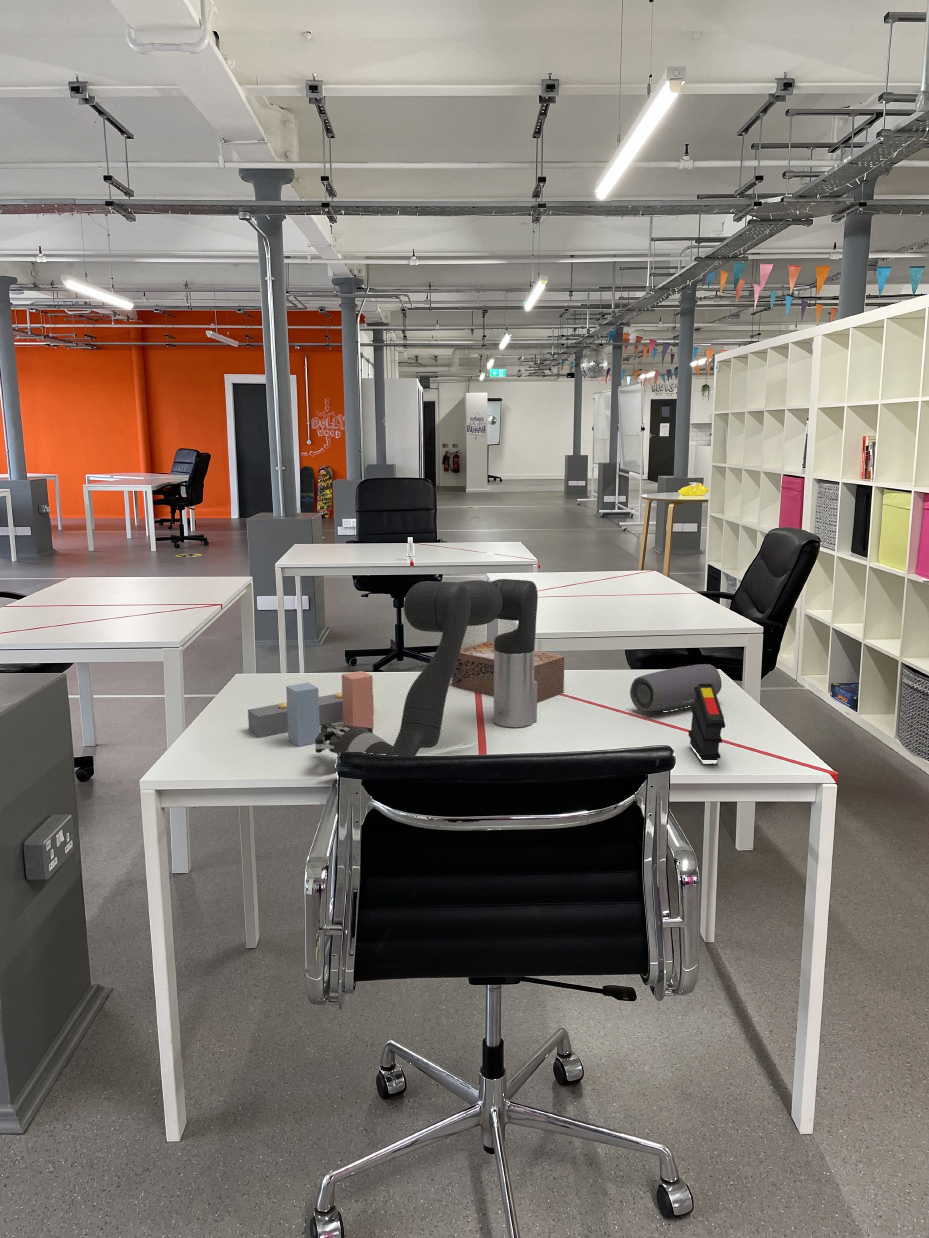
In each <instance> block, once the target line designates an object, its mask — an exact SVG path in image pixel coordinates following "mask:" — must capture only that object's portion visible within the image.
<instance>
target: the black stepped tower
mask: <svg viewBox="0 0 929 1238" xmlns="http://www.w3.org/2000/svg"><path fill="white" fill-rule="evenodd" d="M694 690H695V693H696V696H695V702H694V704H693V706H691V707H690V711H691V713H692V716H691V717H692V718H691V725H690V730H688V737H689V739H690V741H689V745H690V744H691V745H692V747H693V748H694V749H695V750H696V752H697V753H698V754H699V756H700V757H701V759H702V760H718V761H719V759H721V754H720V751H719V749H720V747H719V746H720V744H722V743H723V739H722V737H721V733H722V729H725V728H726V723H725V716H724V713H723V711H722V708H721V705H720V701H719V699H718V697H717V695H718V694H717V695H716V692H715V689H714V686H713V684H711V683H699V684H698V687H695V688H694Z"/></svg>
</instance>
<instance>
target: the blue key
mask: <svg viewBox="0 0 929 1238" xmlns="http://www.w3.org/2000/svg"><path fill="white" fill-rule="evenodd" d="M285 689H286V703H287V717H288V733H287V737H288V741H289V742H290V743H292V744H293V745H295V746H296V747H297V748H299V747H305V746H309V745H315V739H316V738H317V736H318V735H319V733H320V732H321V731H320V727H321V726H320V725H319V697H320V696H319V687H317V686H315V685H313V684H312V683H309V682H304V683H303V682H302V683H298V684H297V683H296V684H291V685H285Z"/></svg>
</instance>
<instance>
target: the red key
mask: <svg viewBox="0 0 929 1238" xmlns="http://www.w3.org/2000/svg"><path fill="white" fill-rule="evenodd" d="M373 683H374V682H373V675H372V674H370V673H367V672H365V671H363V670H360V671H359V670H358V671H353V672H347V673H341V693H342V706H343V722H342V727H343V728H344V727H345V726H347V725H348V726H357V727H367V728H373V729H374V727H375V725H374V715H373V706H374V689H373V687H374V684H373Z"/></svg>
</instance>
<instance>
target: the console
mask: <svg viewBox="0 0 929 1238" xmlns="http://www.w3.org/2000/svg"><path fill="white" fill-rule="evenodd" d="M374 713H375V711H374V705H373V716H374ZM247 715H248V716H247V718H248V720H247V721H248V732H250V733H251V734H252V735H255V736H256V737H257V738H259V739H262V738H266V737H273V736H276V735H277V736H278V735H281V734H288V717H287V702H280V703H278V704H273V705H265V706H261V707H256V708H250V709H247ZM325 723H330V724H332V725H334V724H337V723H343V706H342V692H336V693H333V694H328V695H322V696H319V725H320V727H321V725H322V724H325Z"/></svg>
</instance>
